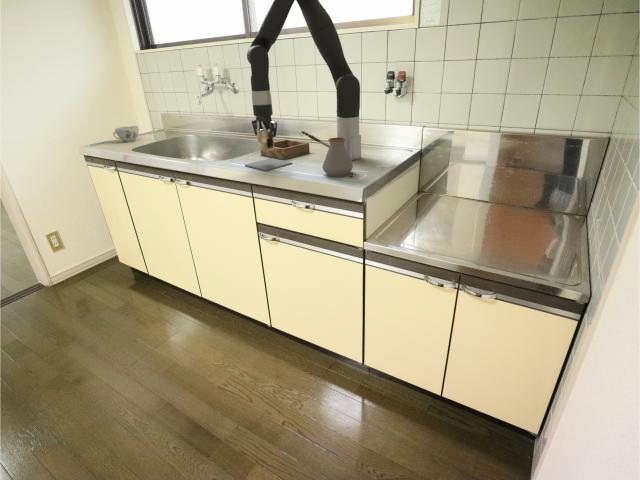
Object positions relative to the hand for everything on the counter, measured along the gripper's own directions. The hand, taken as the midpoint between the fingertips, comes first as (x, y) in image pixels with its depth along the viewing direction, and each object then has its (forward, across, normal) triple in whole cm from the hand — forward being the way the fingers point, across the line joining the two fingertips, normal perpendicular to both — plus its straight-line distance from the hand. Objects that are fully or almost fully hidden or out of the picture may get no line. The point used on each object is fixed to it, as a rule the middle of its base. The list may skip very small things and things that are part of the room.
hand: (266, 146), depth 155 cm
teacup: (+8, +115, +14) cm, 116 cm away
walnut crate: (+8, +10, -18) cm, 22 cm away
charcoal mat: (+8, 0, 0) cm, 8 cm away
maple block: (+1, 0, 0) cm, 1 cm away
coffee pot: (+8, -28, -6) cm, 30 cm away
